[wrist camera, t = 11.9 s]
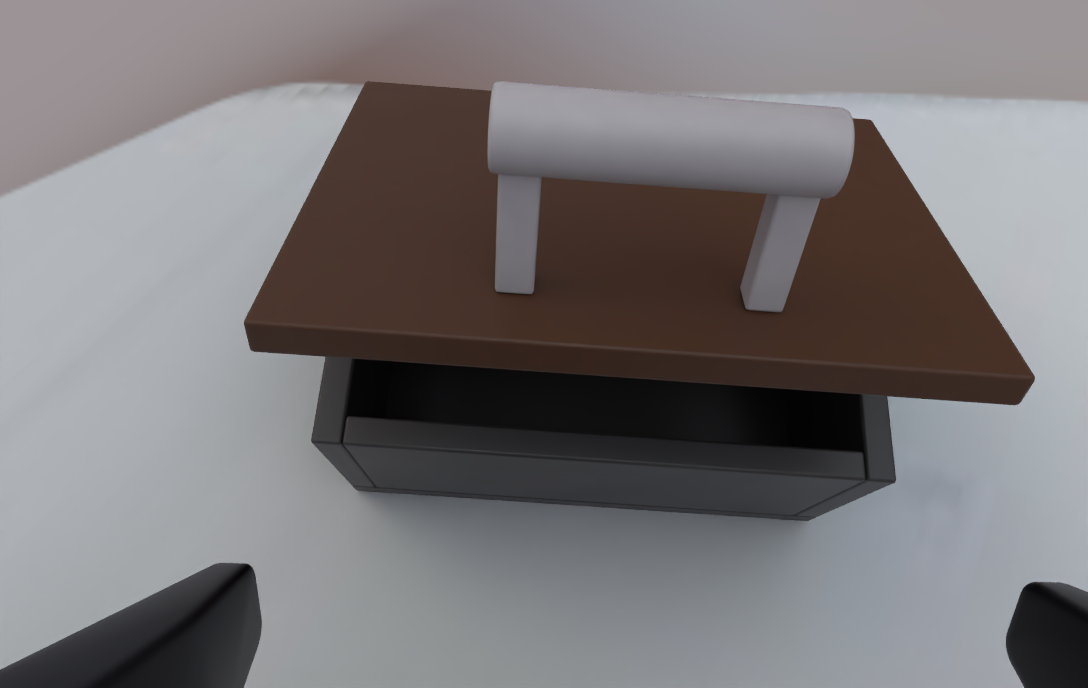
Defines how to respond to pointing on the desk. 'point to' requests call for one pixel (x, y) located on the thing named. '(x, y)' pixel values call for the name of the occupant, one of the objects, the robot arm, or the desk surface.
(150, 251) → the desk surface
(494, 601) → the desk surface
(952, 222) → the desk surface
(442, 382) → the dark grey box
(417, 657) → the desk surface
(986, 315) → the lid
